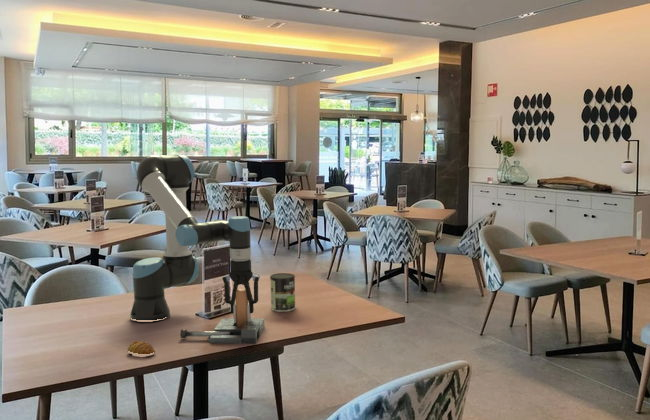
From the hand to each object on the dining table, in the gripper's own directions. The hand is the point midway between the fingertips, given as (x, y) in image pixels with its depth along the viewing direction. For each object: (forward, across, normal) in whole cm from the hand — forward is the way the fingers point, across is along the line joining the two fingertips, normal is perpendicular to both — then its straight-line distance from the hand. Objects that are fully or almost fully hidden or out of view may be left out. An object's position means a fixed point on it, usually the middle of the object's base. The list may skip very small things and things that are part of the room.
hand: (242, 321), depth 208 cm
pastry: (+4, -30, -22) cm, 37 cm away
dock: (+4, -1, -3) cm, 5 cm away
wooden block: (+2, 0, 0) cm, 2 cm away
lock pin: (+4, -12, -8) cm, 15 cm away
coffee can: (+4, +11, +30) cm, 32 cm away
